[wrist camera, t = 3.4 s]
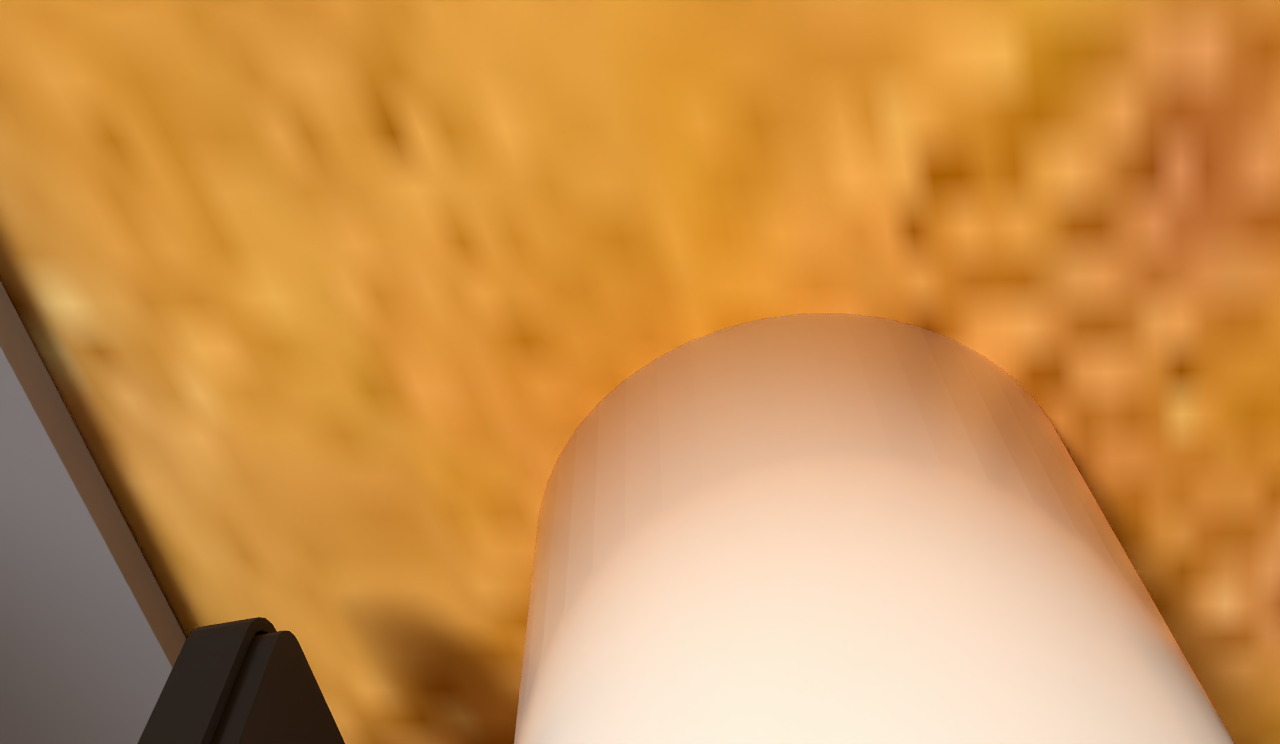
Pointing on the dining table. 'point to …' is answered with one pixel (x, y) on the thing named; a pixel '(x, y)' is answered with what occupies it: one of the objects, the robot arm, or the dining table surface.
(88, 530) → the mat
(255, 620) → the robot arm
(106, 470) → the dining table surface
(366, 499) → the dining table surface
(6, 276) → the dining table surface
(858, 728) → the ceramic cylinder
